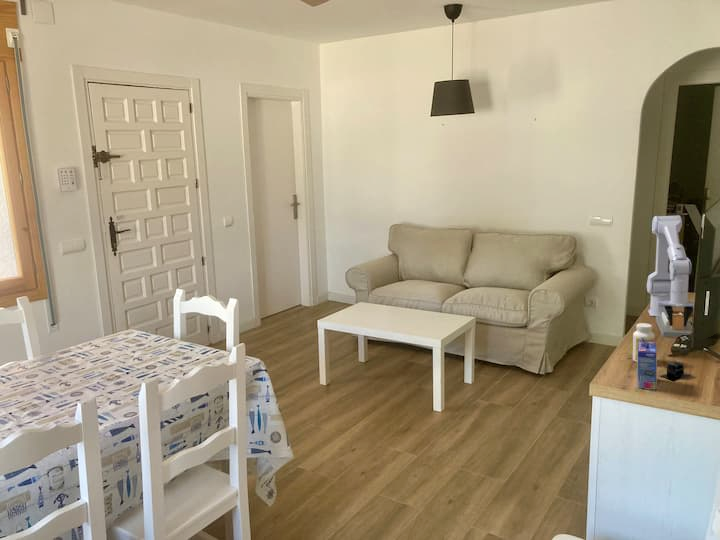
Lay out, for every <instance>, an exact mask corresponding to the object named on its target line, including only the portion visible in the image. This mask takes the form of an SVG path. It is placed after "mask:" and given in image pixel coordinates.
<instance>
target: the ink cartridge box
mask: <svg viewBox="0 0 720 540" xmlns="http://www.w3.org/2000/svg"><path fill="white" fill-rule="evenodd" d="M657 357H658V351H657V343H656V341H655V342H646V341H645V340H644V339H643V338H642V341H638V347H637V362H636V366H637V367H636V368H637V369H636V370H637V371H636V375H637V388H638V387H639V388H638V389H641V388H645V389H644V390H651V389H653V390H652V391H657V390H658V371H657V370H658V358H657Z"/></svg>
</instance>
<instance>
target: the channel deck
mask: <svg viewBox="0 0 720 540" xmlns="http://www.w3.org/2000/svg"><path fill="white" fill-rule="evenodd" d="M678 314H683V313H682V312H678ZM655 322H656V324H657V327H658V329H659V331H660V334H661V336H662V337H663V338H676V337H679V336H681V335H690V334H691V330H692V327H693V325H692V324H691V322H690V321H689V320H688V321H687V325H686V326H684V330H682V329H672V328H671V326H670V323H669V318H668V316H666V315H665V313H664V312H662V316H655Z"/></svg>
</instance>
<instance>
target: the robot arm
mask: <svg viewBox="0 0 720 540" xmlns="http://www.w3.org/2000/svg"><path fill="white" fill-rule="evenodd" d="M682 227H683V220H682V216H680V215H679V214H678V215H662V216H661V215H660V216H658V215H655V216H654V217H652V222H651V232H652V234H653V235H655V236H656V247H655V248H656V249H655V250H656V253H655V271H654V272H652V273H650V274H649V275H648V277H647V281H646V291H647V293H648V294H650V304H649V305H650V306H649V307H650V308H649V309H647V312H648V315H649V316H650V317H656V316H662V312H664V313H665V315H666V316H668V318H669V323H670V326H672V325H673V322H672V316H673V314H674V309H673V308H683V315H684V326H686V325H687V321H689V319H690V316H692V314H693V312H694V302H695V301H691V300H690V301H689V300H688V298H689V297H688V293H689V277H690V276H689V275H691V274H692V262H691V259H689V257H687V254H686V250H685V248H684V245H682V244H681V243H680V238H679V233H680V231H681V229H682Z"/></svg>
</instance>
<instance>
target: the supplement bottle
mask: <svg viewBox="0 0 720 540" xmlns="http://www.w3.org/2000/svg"><path fill="white" fill-rule="evenodd" d="M652 329H653V326H652V324H649V323H645V322H639V323H637V324H636V330H635V331H634V332H633V333H632V361H634V362H635V363H637V347H638V341H642V338H643V339H644V340H645V341H646V342H656V338H655V337H656V335H655V333H654V332H652Z"/></svg>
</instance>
